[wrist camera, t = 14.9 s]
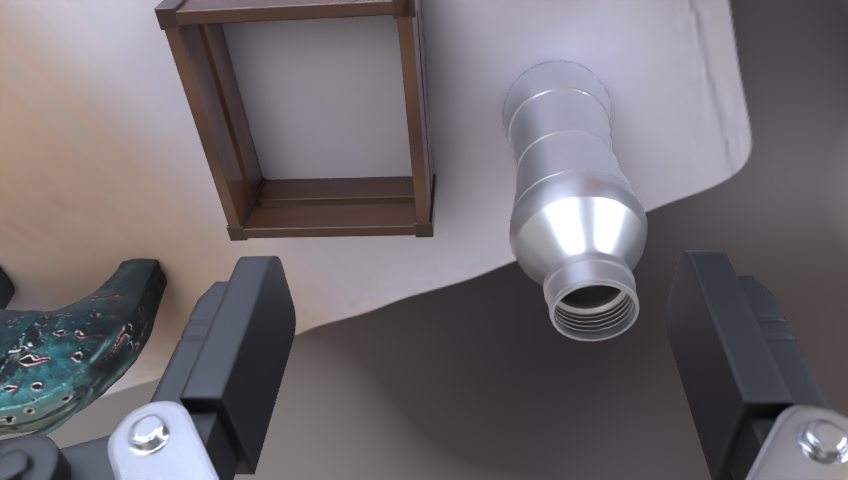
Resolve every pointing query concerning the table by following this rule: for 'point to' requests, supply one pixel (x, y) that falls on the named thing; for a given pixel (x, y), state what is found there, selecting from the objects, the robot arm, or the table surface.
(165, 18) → the crate
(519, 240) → the metal water bottle
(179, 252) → the table surface
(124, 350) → the ceramic cat
